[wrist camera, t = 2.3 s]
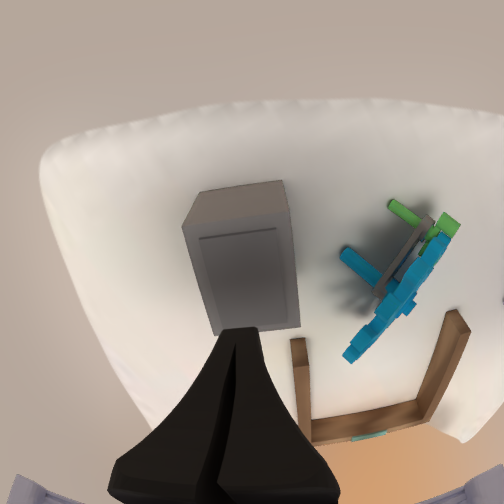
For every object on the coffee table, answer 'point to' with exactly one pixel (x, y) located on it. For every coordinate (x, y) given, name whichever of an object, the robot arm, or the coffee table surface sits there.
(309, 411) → the frame
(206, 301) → the block
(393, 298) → the blue green toy construction
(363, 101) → the coffee table surface
